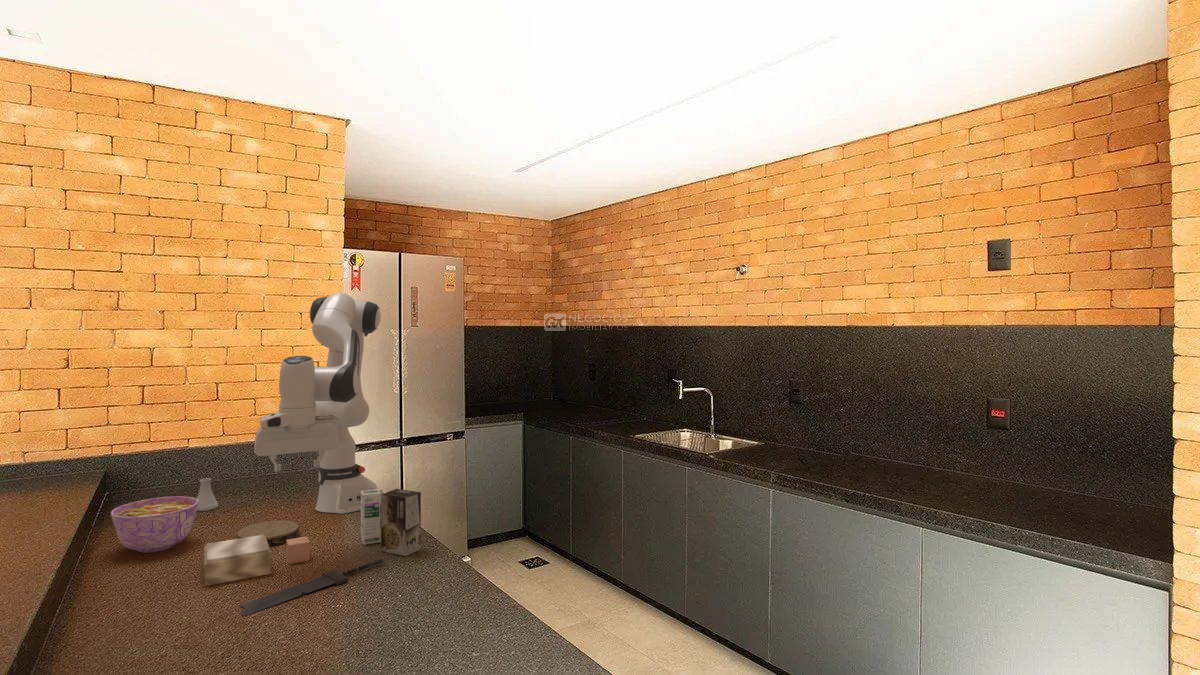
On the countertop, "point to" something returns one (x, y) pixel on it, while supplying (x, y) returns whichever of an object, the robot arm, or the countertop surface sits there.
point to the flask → (206, 496)
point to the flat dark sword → (301, 589)
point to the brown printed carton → (401, 522)
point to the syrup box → (371, 516)
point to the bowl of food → (154, 522)
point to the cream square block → (236, 559)
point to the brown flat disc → (272, 531)
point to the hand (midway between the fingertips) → (297, 469)
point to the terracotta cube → (297, 550)
